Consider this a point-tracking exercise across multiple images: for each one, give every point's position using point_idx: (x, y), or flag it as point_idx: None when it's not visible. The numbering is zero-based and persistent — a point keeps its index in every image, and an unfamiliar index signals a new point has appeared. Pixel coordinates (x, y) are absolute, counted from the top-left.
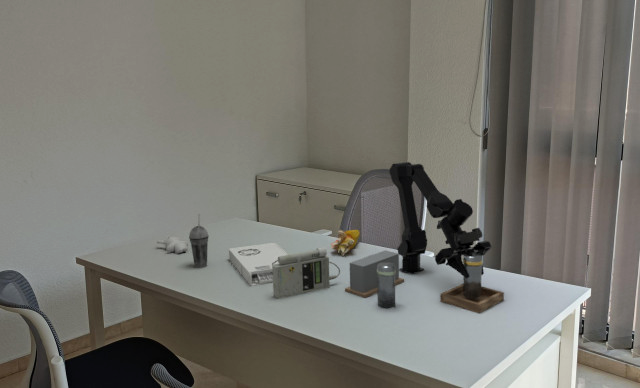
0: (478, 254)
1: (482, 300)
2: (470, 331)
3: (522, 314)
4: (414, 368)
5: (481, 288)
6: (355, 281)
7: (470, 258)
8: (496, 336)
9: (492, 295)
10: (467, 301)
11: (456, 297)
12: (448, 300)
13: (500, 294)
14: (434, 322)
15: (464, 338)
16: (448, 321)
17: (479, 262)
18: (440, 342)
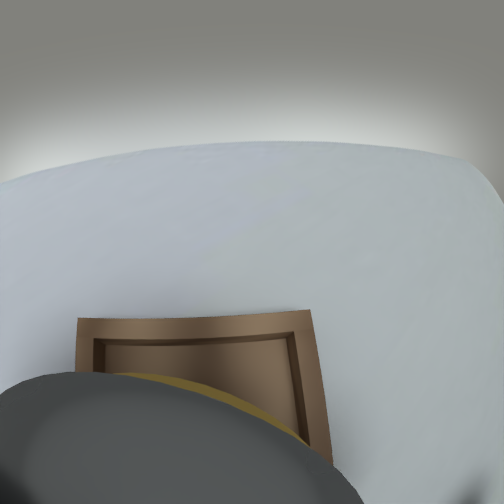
0: (4, 487)
1: None
2: (412, 247)
3: (182, 206)
4: None
5: None
6: None
7: (353, 502)
8: (372, 188)
9: (149, 338)
10: (320, 377)
11: (321, 449)
12: None
13: (106, 319)
14: (457, 357)
15: (439, 235)
16: (427, 338)
17: (178, 379)
18: (481, 259)
